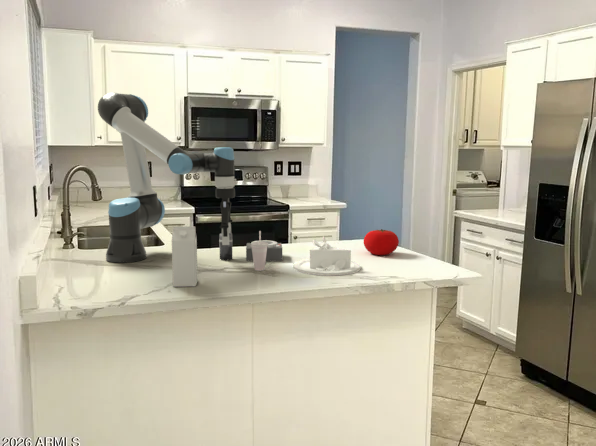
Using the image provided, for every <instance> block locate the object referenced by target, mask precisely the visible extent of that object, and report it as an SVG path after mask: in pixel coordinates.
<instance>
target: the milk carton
mask: <svg viewBox="0 0 596 446" xmlns="http://www.w3.org/2000/svg"><path fill="white" fill-rule="evenodd" d="M196 231H197V230H196V226H193V225H192V226H191V225H190V226H187V225H186V226H185V225H184V226H181V225H180V226H172V233H171V235H172V236H171V259H172V261H171V263H172V264H171V265H172V287H173V288H175V287H176V288H178V287H181V288H182V287H196V285H197V282H198V246H197V245H198V242H197V241H198V239H197V233H196Z"/></svg>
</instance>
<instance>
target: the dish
mask: <svg viewBox="0 0 596 446" xmlns="http://www.w3.org/2000/svg"><path fill="white" fill-rule="evenodd" d="M311 242H312V243H313V245H314V246H315V247H313V248H311V249H309V258H304V259H300V260H297V261H295V262H293V263H292V264H293V265H292V269H293V270H294V271H295V272H298V273H302V274H305V275H306V274H307V275H313V276H324V277H325V276H326V277H328V276H329V277H330V276H332V277H333V276H345V275H351V274H354V273H357V272H358V271H360V270H361V264H360V263H358V262H356V261H354V260H352V250H351V249H345V248H338V247H334V246H331V245H330V244H329V243H328V242H327V239H326V237H325V236H324V235H322V242H320V243H319V241H317V239H313V240H312V241H311Z"/></svg>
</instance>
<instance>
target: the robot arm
mask: <svg viewBox="0 0 596 446" xmlns="http://www.w3.org/2000/svg"><path fill="white" fill-rule="evenodd" d="M97 112H98V115H99V117H100V118H101V119H102V121H104V122H105V123H106V124H107V125H108V126H110V127H111V128H113V129H115V130H116V132H118V133H119V134H120V137H121V143H122V149H123V155H124V161H125V165H126V173H127V177H128V183H129V185H128V186H129V188H130V189H129V190H130V193H129V194H128V195H127V197H123V198H122V197H121V198H116V199H113V200H111V201H110V202H109V204H108V212H107V214H108V223H109V224H108V225H109V226H108V227H109V243H108V247H107V249H106V253H105V259H106V261H107V262H110V263H132V262H133V263H134V262H139V261H143V260H145V259H146V258H147V251H146V249H145V245H144V243H143V239H142V231H141V230H142V229H145V228H151V227H153V226H156V225H158V224H160V222H162V220H163V218H164V217H165V214H166V209H165V204H164V202H163V201H162V200H161V199H160V198H158V193H157V192H156V190H154V189H153V185H152V181H151V175H150V174H151V173H150V168H149V163H148V157H147V152H146V150H147V151H149V152H151V153H152V154H153V155H155V156H156V157H157V158H159V159H161V160H162V161H163V163H165V164H167V165H168V168H169V170H170V171H171V172H172V173H174V174H176V175H183V176H184V175H188V174H196V173H198V174H199V173H214V186H215V187H216V188H215V198H216V199H221V202H220V204H219V205H220V213H221V219H220V220H221V222H220V223H221V224H220V225H219V229H221V233H222V245H229V233H232V224H231V223H233V219H232V218H231V210H232V201H231V199H233V198H234V199H235V197H236V189H235V186H236V183H235V182H237V178H235V159H236V158H235V153H234V152H235V151H234V149H233V148H232V147H228V146H227V147H220V146H219V147H215V148H214V149H213V152H196V151H195V152H187V151H186V150H184V149H182V148H181V147H180V146H178V145H176V144H175V143H174V142H172V141H171V140H170V139H168V138H167V137H166V136H164V135H163V134H161V133H160V132H158V131H157V130H156V129H154V127H152V126H150V125H149V124H148V123H146V121H147V118H148V116H149V108H148V105H147V103H146V102H145V100H144V99H143V98H141V97H140V96H138V95H134V94H130V93H129V94H128V93H118V92H108V93H106V94H104V95H102V96H101V97H100V99H99V101H98V103H97Z"/></svg>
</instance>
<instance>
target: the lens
mask: <svg viewBox="0 0 596 446" xmlns="http://www.w3.org/2000/svg"><path fill="white" fill-rule="evenodd" d="M218 238H219V240H218V242H219V243H218V244H219V260H220V259H221V261H231V260H233V242H234V241H233V233H232V232H231V233H229V245H222V232H221V233H219V237H218Z"/></svg>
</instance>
